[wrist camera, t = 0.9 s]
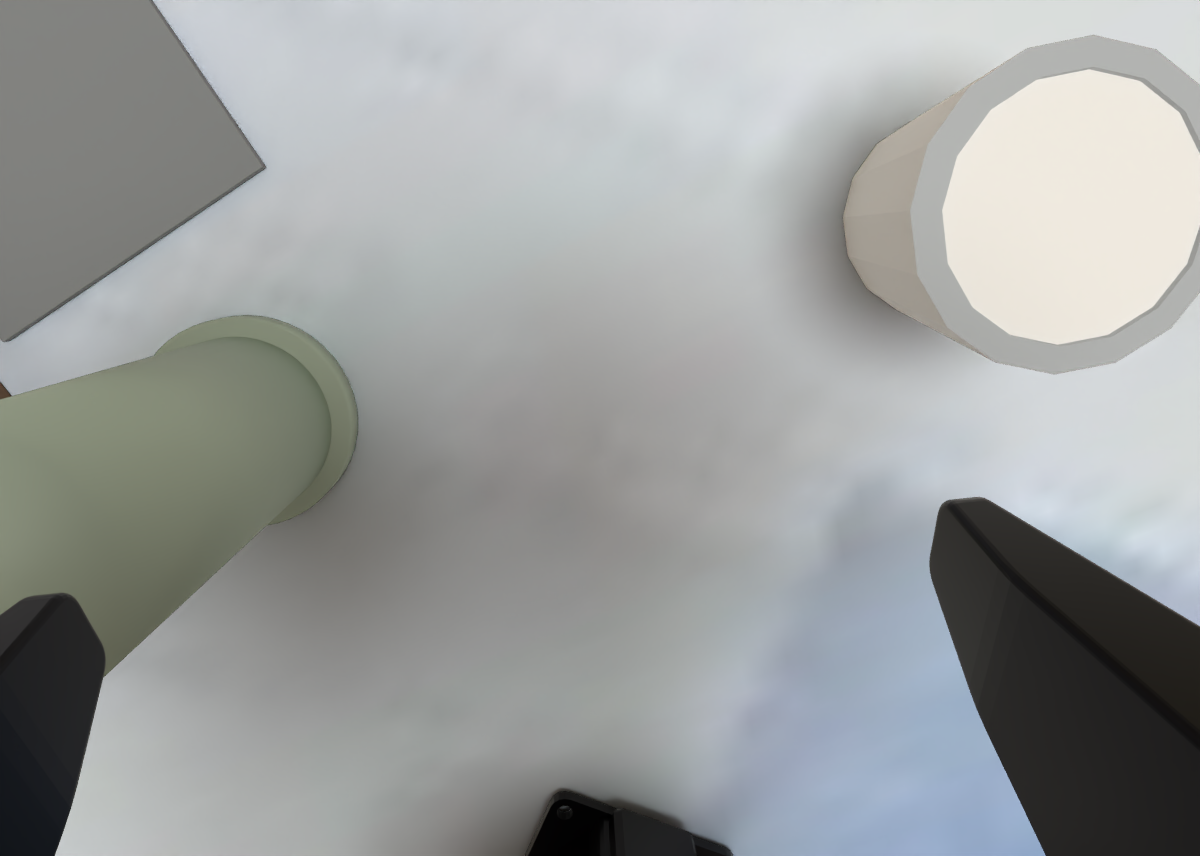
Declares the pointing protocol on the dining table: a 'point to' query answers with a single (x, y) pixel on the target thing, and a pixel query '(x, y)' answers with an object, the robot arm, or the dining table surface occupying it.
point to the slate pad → (99, 146)
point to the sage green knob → (166, 469)
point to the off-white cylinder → (1041, 207)
